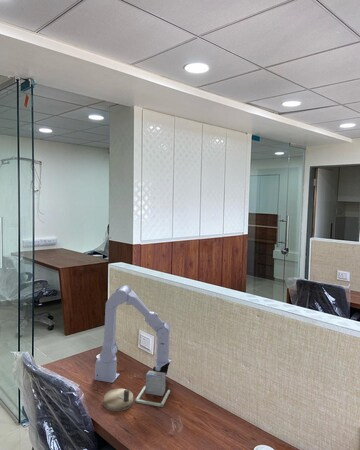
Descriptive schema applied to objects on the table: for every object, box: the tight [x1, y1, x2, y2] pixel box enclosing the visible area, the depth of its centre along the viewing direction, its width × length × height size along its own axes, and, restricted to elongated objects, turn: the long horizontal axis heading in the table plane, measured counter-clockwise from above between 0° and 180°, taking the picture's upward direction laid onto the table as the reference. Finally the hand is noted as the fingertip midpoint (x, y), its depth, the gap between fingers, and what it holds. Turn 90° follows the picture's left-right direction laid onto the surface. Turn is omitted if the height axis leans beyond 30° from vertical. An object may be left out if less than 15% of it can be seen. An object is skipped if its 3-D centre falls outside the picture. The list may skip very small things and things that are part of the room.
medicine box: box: [144, 370, 167, 397], centre depth 157 cm, size 8×4×9 cm, turn 76°
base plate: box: [102, 400, 135, 412], centre depth 149 cm, size 12×12×1 cm
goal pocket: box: [134, 385, 171, 408], centre depth 154 cm, size 12×12×1 cm
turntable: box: [103, 388, 134, 410], centre depth 149 cm, size 12×12×6 cm
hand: (161, 378), depth 166 cm, fingers open, 7 cm apart
